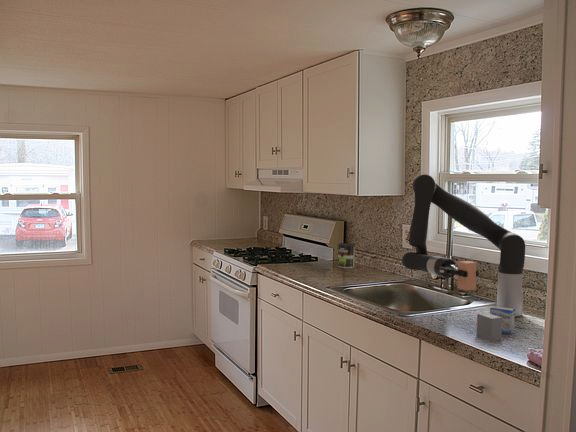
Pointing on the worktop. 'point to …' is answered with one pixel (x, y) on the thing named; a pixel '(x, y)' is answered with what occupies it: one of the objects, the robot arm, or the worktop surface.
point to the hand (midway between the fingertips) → (472, 273)
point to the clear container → (346, 255)
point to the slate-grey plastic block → (489, 327)
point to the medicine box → (505, 318)
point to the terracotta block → (469, 281)
